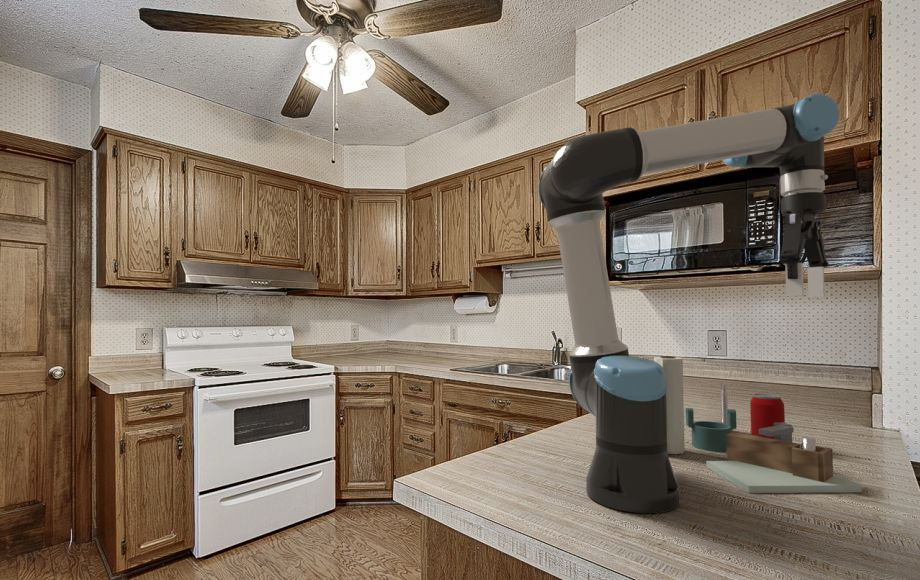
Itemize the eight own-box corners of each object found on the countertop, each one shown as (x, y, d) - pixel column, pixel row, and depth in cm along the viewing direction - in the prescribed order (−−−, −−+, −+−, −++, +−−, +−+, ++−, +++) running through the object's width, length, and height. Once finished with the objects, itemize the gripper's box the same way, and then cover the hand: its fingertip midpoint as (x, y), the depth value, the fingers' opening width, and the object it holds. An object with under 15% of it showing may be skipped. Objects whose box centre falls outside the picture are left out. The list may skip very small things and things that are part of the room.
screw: (715, 428, 130) (735, 431, 127) (713, 432, 125) (735, 435, 123) (713, 380, 130) (734, 381, 128) (712, 382, 126) (733, 384, 124)
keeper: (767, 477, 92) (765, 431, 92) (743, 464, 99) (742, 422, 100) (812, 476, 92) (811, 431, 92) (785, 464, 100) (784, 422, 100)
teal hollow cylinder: (740, 448, 111) (739, 409, 112) (716, 454, 107) (715, 413, 107) (703, 440, 119) (702, 403, 120) (680, 444, 114) (679, 407, 115)
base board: (748, 492, 84) (748, 485, 84) (706, 466, 98) (706, 461, 98) (861, 492, 84) (861, 485, 84) (803, 466, 98) (803, 460, 98)
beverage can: (790, 448, 111) (789, 396, 112) (777, 453, 108) (776, 399, 108) (759, 441, 117) (758, 392, 117) (745, 446, 113) (744, 394, 114)
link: (724, 459, 99) (724, 435, 99) (736, 454, 102) (735, 431, 102) (824, 482, 86) (823, 454, 86) (833, 475, 89) (832, 448, 89)
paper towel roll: (671, 446, 113) (669, 355, 114) (690, 453, 107) (688, 357, 108) (645, 449, 111) (644, 356, 112) (664, 456, 105) (662, 358, 106)
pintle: (808, 476, 89) (807, 440, 89) (800, 472, 91) (799, 437, 91) (819, 476, 89) (817, 439, 89) (811, 472, 91) (809, 437, 91)
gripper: (804, 180, 89) (808, 295, 88) (842, 200, 105) (845, 297, 104) (759, 189, 95) (762, 296, 94) (801, 206, 110) (804, 298, 109)
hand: (806, 297), depth 99 cm, fingers open, 13 cm apart
